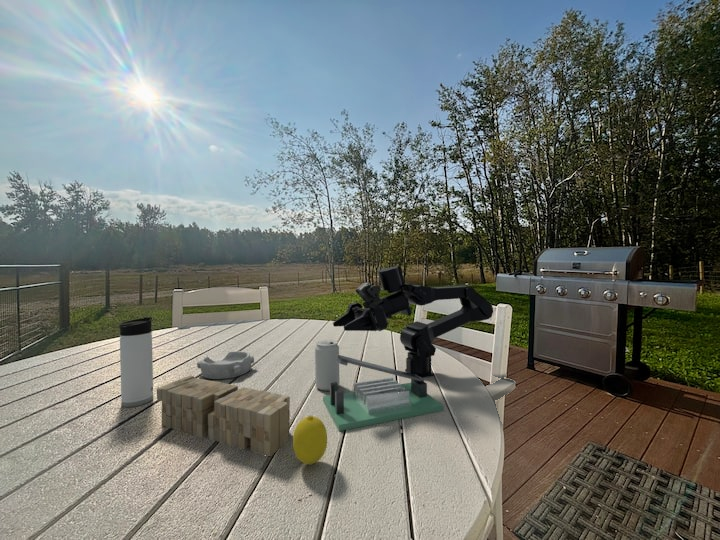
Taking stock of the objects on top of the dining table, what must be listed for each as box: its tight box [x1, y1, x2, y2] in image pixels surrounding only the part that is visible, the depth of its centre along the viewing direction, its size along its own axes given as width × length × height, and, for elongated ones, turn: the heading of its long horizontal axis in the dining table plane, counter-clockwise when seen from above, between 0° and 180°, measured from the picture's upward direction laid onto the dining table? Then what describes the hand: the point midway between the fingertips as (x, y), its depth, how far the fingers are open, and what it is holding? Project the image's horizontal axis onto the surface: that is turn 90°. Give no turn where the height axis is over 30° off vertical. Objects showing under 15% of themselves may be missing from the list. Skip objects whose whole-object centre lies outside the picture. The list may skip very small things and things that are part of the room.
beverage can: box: [314, 339, 341, 392], centre depth 81 cm, size 6×6×12 cm
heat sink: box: [329, 376, 428, 414], centre depth 70 cm, size 22×10×5 cm, turn 110°
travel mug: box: [119, 316, 154, 408], centre depth 74 cm, size 6×7×20 cm
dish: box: [196, 350, 255, 380], centre depth 94 cm, size 14×14×5 cm
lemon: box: [292, 414, 328, 466], centre depth 50 cm, size 6×6×8 cm
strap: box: [337, 354, 425, 383], centre depth 70 cm, size 22×3×1 cm, turn 109°
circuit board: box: [322, 382, 444, 432], centre depth 70 cm, size 24×14×1 cm, turn 110°
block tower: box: [156, 374, 291, 457], centre depth 61 cm, size 8×8×29 cm
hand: (338, 326), depth 81 cm, fingers open, 9 cm apart
